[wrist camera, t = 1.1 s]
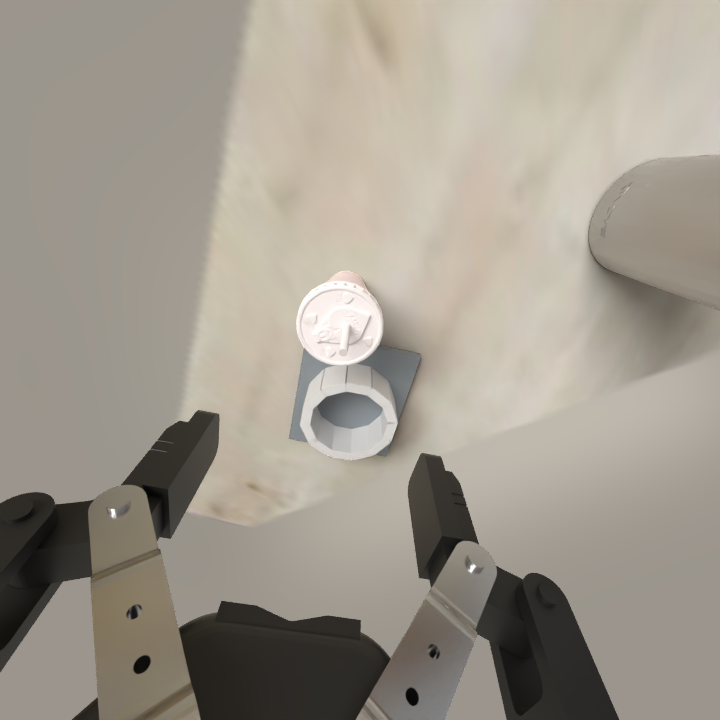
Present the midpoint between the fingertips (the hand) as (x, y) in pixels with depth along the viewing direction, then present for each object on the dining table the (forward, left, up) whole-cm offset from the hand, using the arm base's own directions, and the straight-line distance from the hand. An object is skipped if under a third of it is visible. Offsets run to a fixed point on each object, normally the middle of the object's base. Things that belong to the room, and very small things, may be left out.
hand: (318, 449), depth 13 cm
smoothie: (0, 0, -22) cm, 22 cm away
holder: (-3, +12, -22) cm, 25 cm away
